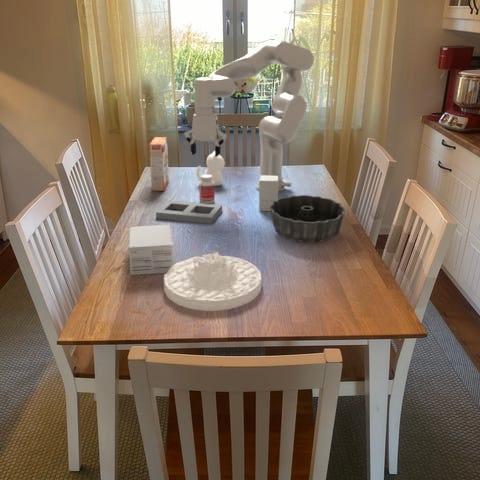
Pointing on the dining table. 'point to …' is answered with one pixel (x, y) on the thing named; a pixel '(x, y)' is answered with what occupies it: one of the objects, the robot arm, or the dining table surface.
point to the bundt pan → (307, 218)
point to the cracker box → (159, 163)
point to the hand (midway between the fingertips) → (205, 154)
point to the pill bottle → (206, 189)
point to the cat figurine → (213, 168)
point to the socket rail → (189, 212)
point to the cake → (212, 282)
